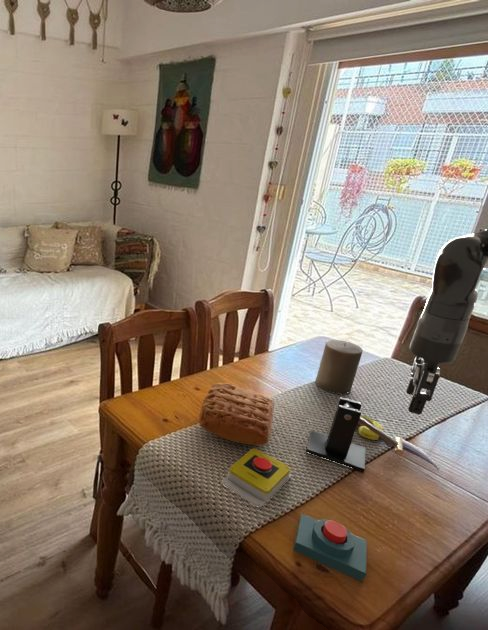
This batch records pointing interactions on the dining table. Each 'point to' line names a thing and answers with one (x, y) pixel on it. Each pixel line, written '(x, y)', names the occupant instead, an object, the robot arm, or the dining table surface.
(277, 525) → the dining table surface
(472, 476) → the dining table surface
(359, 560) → the button block
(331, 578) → the dining table surface
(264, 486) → the emergency button
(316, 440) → the black lever stand
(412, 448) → the knife
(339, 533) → the button
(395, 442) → the lever
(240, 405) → the inscribed clay slab
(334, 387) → the pillar candle
